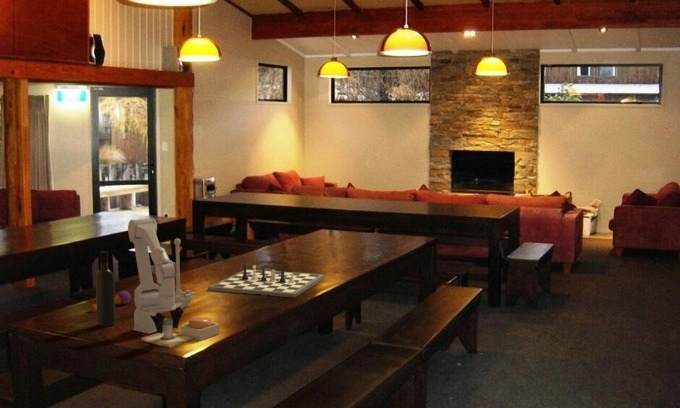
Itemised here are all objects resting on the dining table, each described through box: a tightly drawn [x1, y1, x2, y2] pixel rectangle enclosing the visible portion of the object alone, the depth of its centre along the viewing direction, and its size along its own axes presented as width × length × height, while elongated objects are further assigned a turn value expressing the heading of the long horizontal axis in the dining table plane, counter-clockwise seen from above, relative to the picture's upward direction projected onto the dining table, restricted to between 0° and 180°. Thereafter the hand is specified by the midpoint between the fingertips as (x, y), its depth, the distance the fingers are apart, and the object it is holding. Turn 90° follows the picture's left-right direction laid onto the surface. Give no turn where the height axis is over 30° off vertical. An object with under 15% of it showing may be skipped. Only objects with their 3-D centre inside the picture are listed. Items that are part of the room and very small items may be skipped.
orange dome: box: [188, 316, 212, 329], centre depth 285 cm, size 8×8×4 cm
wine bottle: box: [95, 250, 116, 328], centre depth 297 cm, size 6×6×30 cm
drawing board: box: [140, 332, 195, 349], centre depth 278 cm, size 16×12×1 cm
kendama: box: [89, 290, 132, 313], centre depth 327 cm, size 6×6×20 cm
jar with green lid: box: [163, 317, 174, 339], centre depth 278 cm, size 4×4×7 cm
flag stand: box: [173, 238, 194, 308], centre depth 330 cm, size 13×13×30 cm
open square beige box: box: [180, 321, 221, 341], centre depth 285 cm, size 10×10×4 cm
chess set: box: [207, 261, 325, 298], centre depth 373 cm, size 45×45×11 cm
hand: (167, 330), depth 278 cm, fingers open, 7 cm apart
